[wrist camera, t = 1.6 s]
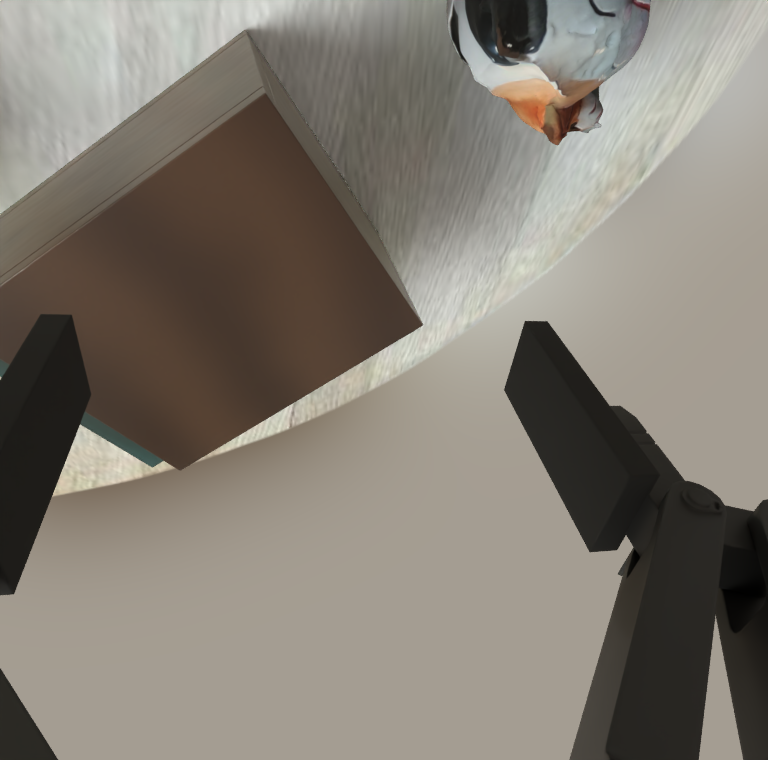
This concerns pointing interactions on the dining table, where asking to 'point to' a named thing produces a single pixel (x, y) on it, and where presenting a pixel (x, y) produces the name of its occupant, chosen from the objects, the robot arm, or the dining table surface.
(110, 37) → the dining table surface
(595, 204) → the dining table surface
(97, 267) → the cabinet
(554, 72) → the lucky cat figurine
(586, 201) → the dining table surface
